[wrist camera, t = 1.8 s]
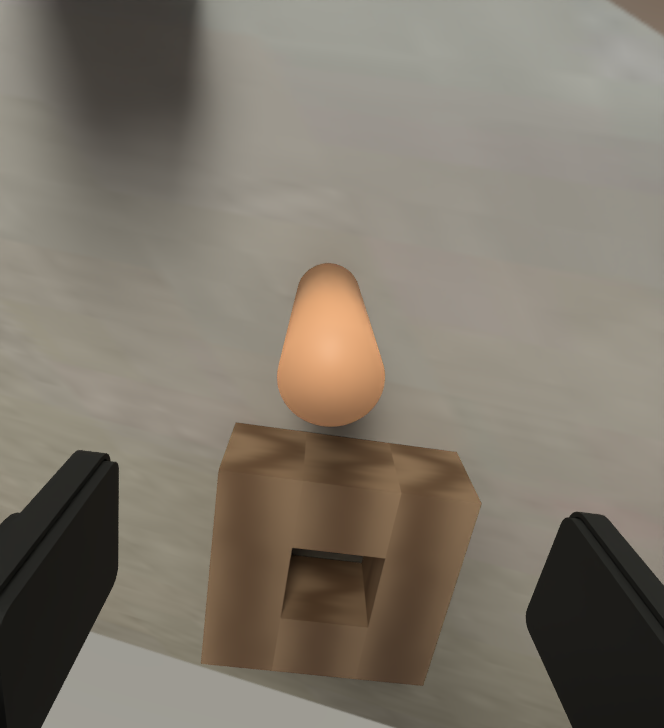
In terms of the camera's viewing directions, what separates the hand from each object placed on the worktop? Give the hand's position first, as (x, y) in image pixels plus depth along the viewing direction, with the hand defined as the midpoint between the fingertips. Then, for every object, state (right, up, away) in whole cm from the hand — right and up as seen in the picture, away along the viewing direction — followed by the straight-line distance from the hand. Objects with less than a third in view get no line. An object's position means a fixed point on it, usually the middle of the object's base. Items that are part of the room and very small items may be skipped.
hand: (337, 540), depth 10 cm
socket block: (0, -9, +28) cm, 29 cm away
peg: (0, +8, +21) cm, 23 cm away
